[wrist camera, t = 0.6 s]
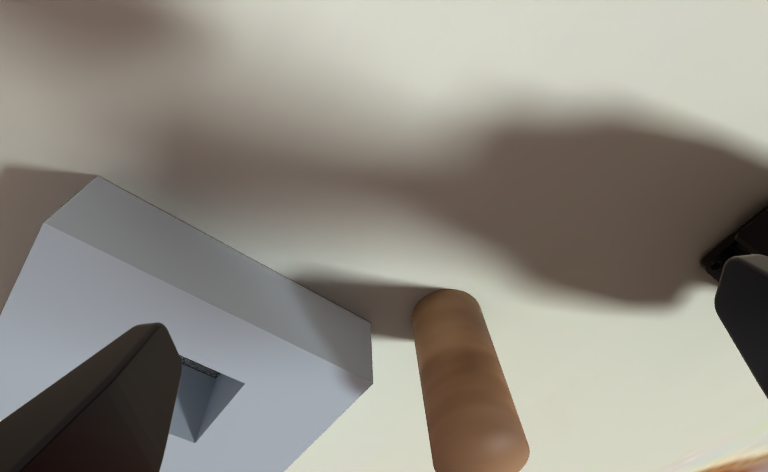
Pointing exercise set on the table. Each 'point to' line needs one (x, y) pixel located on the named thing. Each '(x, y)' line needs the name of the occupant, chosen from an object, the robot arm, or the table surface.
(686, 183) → the table surface
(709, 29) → the table surface
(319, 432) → the socket block
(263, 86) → the table surface
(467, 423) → the peg
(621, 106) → the table surface
